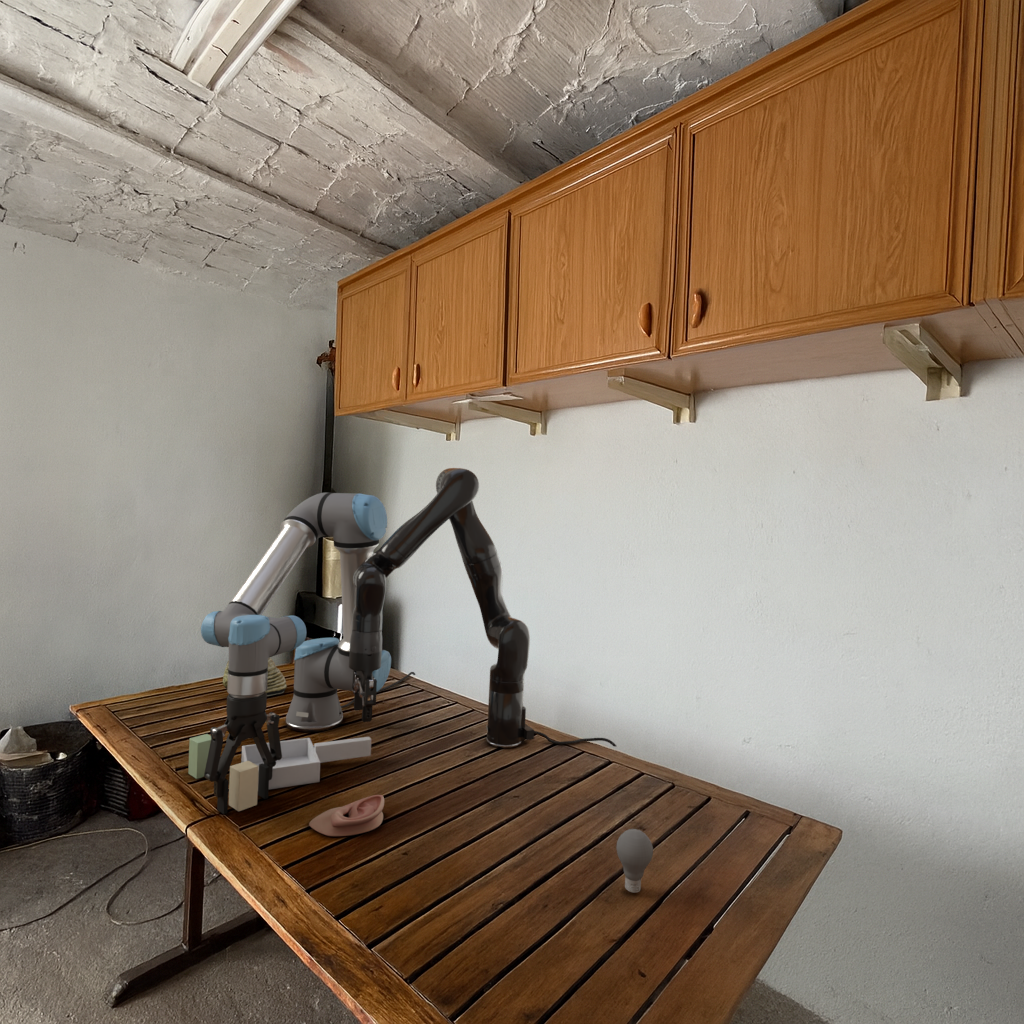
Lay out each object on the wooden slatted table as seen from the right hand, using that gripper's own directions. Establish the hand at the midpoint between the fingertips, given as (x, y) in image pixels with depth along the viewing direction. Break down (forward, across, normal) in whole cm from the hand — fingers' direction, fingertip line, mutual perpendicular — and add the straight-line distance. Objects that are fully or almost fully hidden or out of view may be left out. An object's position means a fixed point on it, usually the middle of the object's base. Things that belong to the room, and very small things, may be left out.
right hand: (362, 715), depth 152 cm
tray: (+11, 0, -12) cm, 16 cm away
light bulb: (+11, +67, +30) cm, 74 cm away
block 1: (+12, -6, -34) cm, 37 cm away
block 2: (+12, +13, -27) cm, 32 cm away
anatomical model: (+11, +27, -9) cm, 31 cm away
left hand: (+11, +13, -27) cm, 32 cm away
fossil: (+11, -61, -19) cm, 65 cm away
